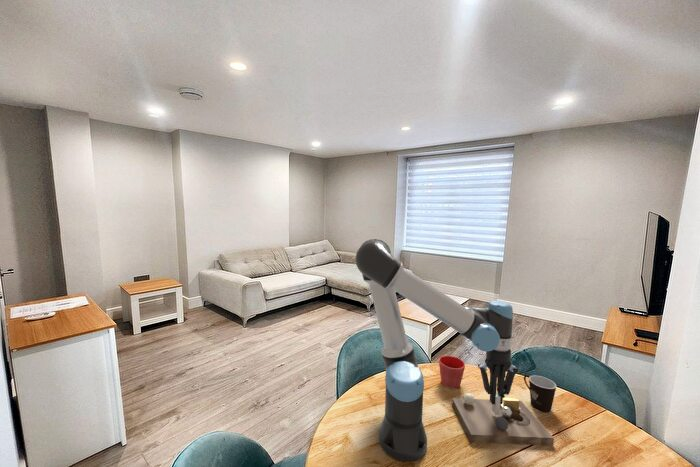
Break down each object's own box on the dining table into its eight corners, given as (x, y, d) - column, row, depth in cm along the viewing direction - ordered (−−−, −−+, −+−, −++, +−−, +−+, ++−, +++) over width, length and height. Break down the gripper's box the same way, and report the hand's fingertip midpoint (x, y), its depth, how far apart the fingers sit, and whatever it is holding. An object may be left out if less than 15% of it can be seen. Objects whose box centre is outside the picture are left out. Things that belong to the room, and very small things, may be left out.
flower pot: (466, 381, 124) (467, 359, 124) (461, 394, 115) (462, 371, 114) (441, 373, 130) (442, 353, 129) (435, 385, 121) (435, 363, 120)
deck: (470, 441, 91) (471, 434, 90) (452, 404, 109) (452, 398, 108) (553, 445, 90) (553, 438, 90) (520, 407, 108) (521, 400, 108)
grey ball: (498, 433, 91) (498, 421, 91) (492, 424, 95) (493, 413, 95) (510, 433, 91) (510, 422, 91) (504, 424, 95) (504, 414, 95)
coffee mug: (559, 416, 103) (561, 390, 102) (533, 412, 105) (534, 387, 104) (544, 396, 114) (545, 372, 114) (520, 393, 116) (522, 370, 115)
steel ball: (514, 419, 97) (505, 420, 97) (509, 412, 100) (500, 414, 101) (513, 409, 97) (503, 411, 97) (507, 403, 100) (498, 405, 100)
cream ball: (465, 407, 103) (465, 397, 103) (461, 400, 107) (462, 390, 107) (475, 407, 103) (476, 397, 103) (471, 400, 107) (472, 391, 107)
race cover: (503, 410, 102) (503, 400, 101) (495, 399, 108) (495, 389, 107) (520, 411, 101) (520, 400, 101) (511, 400, 107) (511, 390, 107)
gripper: (484, 351, 94) (481, 419, 95) (524, 352, 93) (520, 420, 95) (475, 341, 101) (472, 404, 103) (511, 342, 101) (508, 405, 102)
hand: (495, 412), depth 99 cm, fingers closed
